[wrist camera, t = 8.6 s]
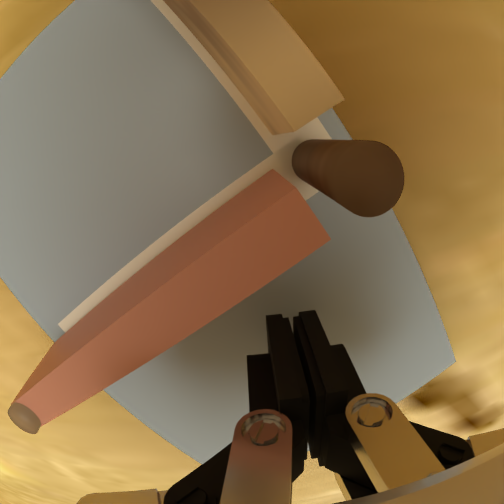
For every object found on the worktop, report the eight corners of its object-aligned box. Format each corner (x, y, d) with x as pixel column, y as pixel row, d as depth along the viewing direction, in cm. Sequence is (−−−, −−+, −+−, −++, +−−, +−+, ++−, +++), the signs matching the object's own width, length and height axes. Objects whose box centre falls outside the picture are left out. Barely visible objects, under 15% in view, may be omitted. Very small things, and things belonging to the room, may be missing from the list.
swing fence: (272, 168, 9) (299, 190, 5) (295, 200, 10) (335, 244, 6) (51, 345, 11) (3, 413, 7) (70, 365, 12) (29, 437, 8)
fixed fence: (118, -41, 7) (68, -107, 3) (151, -63, 7) (117, -136, 2) (307, 191, 10) (358, 231, 6) (342, 167, 10) (415, 191, 6)
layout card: (-57, 175, 9) (-61, 176, 9) (176, -65, 7) (175, -70, 7) (230, 477, 16) (230, 482, 15) (453, 357, 13) (456, 361, 13)
